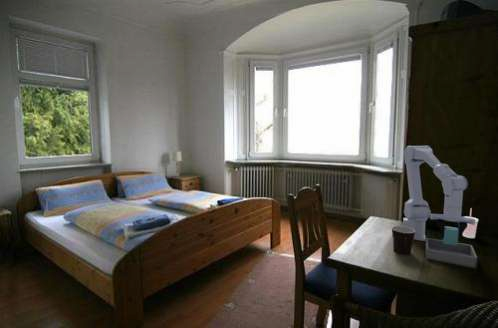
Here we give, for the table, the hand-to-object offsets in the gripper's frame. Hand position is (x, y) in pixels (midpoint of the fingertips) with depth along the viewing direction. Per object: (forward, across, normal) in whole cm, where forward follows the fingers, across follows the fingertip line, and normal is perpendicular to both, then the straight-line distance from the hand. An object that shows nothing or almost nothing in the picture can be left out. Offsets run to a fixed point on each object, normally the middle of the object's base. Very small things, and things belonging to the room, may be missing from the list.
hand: (450, 238), depth 114 cm
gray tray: (+8, 0, 0) cm, 8 cm away
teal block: (+2, 0, 0) cm, 2 cm away
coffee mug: (+8, -17, -6) cm, 20 cm away
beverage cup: (+8, +10, +31) cm, 33 cm away
